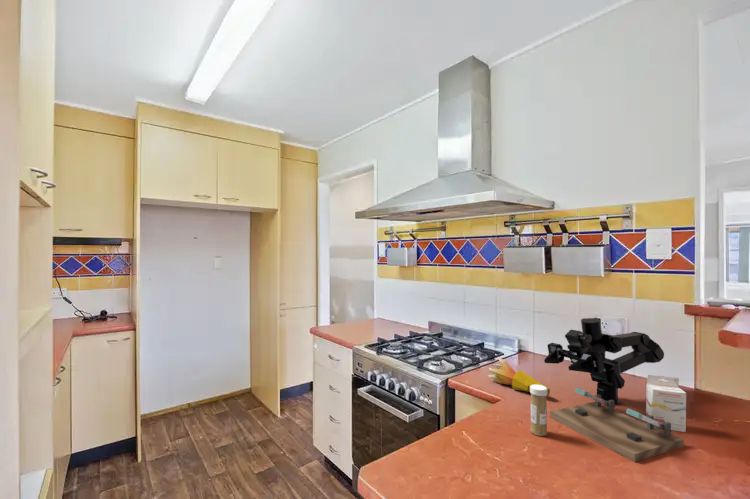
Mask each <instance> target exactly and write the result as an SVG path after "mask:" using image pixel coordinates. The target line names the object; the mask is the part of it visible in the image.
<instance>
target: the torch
mask: <svg viewBox="0 0 750 499" xmlns="http://www.w3.org/2000/svg"><path fill="white" fill-rule="evenodd" d="M497 359H498V360H499V361H498V362H499V363H500V364H499V363H492V365H493V366H494V367H495V368H491V367H488V370H489V372H491V373H492V374H488V375H487V377H489V378H491V379H492V380H493V381H492V382H494V383H497V384H501V385H511V387H512V389H513V390H515V391H525V392H527V393H530V394H531V392H530V386H531V385H542V386H545V387H546V388H547V396H549V395H550V393H551V391H550V388H549V387H548V386H546V385H545V384H543V383H542V382H539V381H538V380H536V378H535V379H534V377H532V376H531V375H529V374H527V373H525V372H524V371H522V370H518V371H515V369H513V367H512V366H511V365H510V364H509V363H508V362H507V360H506V359H503V358H501V357H499V356H497Z"/></svg>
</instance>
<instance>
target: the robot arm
mask: <svg viewBox="0 0 750 499" xmlns="http://www.w3.org/2000/svg"><path fill="white" fill-rule="evenodd" d="M580 322H581V323H580V325H581V331H580V330H577V329H570V330H568V332H567V333H566V334H564V337H565V339H566V341H567V342H568V344H567V346H566V347H567V349H564V348H563V345H562V344H559V343H554V342H550V343H547V351H548V354H547V356H546V357H545V359H543V361H544V364H555V365H556V364H560V363H563V362H564V360H565V358H568V359H569V360H570V363H571V364H570V365H569V366H568V370H569V371H571V372H572V371H574V372H582V373H588V374H590V378H591V381H592V382H595V383H597V384H596V395H601V399H603V400H605V401H608V400H614V406H615V405H621V404H623V401H622V400H619V389H623V388H624V387H625V382H626V381H625V379H624V378H623V377H622V375H621V374H622V373H625V372H628V371H629V370H631V369H634V368H636V367H637V366H641V365H642V364H644V363H645V364H646V363H648V364H649V363H650V364H652V363H653V364H655V363H660V362H661V361H662V360H663V359H664V357H665V352H664V350H663V349H662V348H661V346H660V345H659V343H657V342H656V341H654V340H653V339H652V338H650V336H649V334H646V333H643V332H638V331H632V332H627V333H621V334H607V333H603V330H602V321H601V318H599V317H588V318H585V317H584V318H581V319H580ZM628 347H631V349H632V350H633V351H630V352H628V353H626V354H623V355H620V356H619V357H616V358H614V359H610V358H608V357H607V358H606V352H608V353H611V354H617V353H618V352H621V351H622V350H623V348H628Z"/></svg>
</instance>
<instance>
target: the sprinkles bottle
mask: <svg viewBox="0 0 750 499" xmlns="http://www.w3.org/2000/svg"><path fill="white" fill-rule="evenodd" d="M545 386H546V385H545ZM545 386H542V385H531V386H530V392H531V393H530V392H529V393H530V432H531V434H533V435H535V436H539V437H544V436H547V435H548V429H547V428H548V427H547V426H548V408H547V405H548V404H547V401H548V400H547V399H548V398H547V397H548V395H547V388H546V387H545Z"/></svg>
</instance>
